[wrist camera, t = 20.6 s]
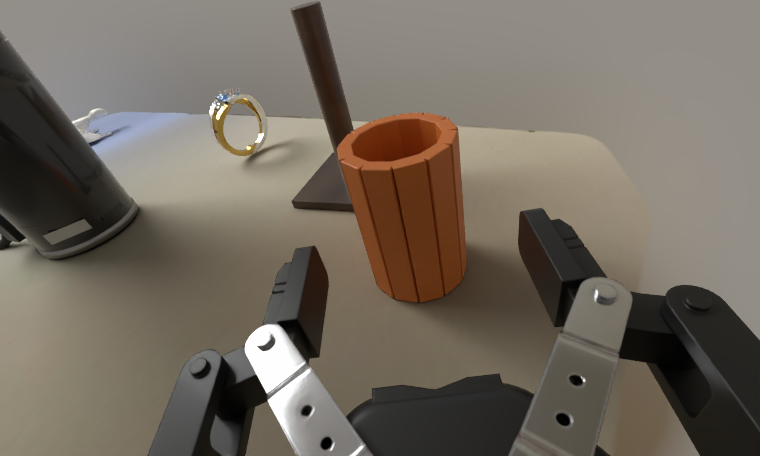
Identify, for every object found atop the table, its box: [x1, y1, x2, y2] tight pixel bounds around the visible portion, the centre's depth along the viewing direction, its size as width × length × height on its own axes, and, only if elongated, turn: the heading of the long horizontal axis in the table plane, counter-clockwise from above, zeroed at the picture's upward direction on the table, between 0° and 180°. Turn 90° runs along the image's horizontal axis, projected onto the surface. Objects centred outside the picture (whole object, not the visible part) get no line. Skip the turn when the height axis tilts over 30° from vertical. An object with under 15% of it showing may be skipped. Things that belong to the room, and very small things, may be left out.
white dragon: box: [72, 108, 112, 143], centre depth 63 cm, size 18×10×4 cm, turn 143°
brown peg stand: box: [290, 1, 354, 211], centre depth 30 cm, size 9×9×15 cm
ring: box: [209, 88, 268, 156], centre depth 43 cm, size 7×3×8 cm, turn 140°
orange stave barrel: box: [337, 113, 467, 303], centre depth 21 cm, size 6×6×10 cm
